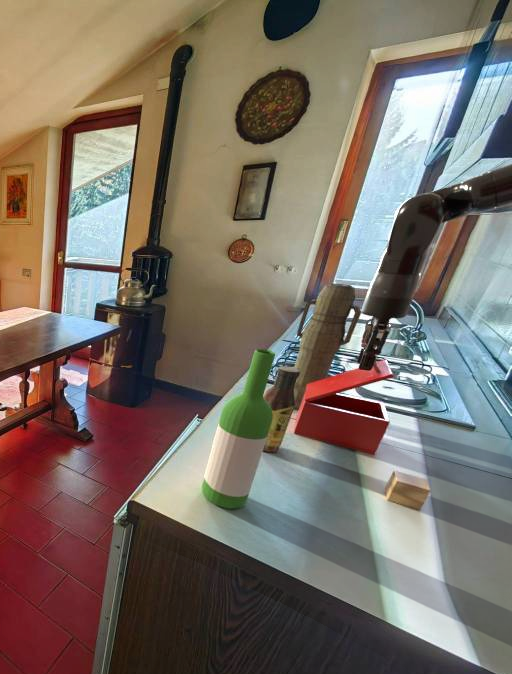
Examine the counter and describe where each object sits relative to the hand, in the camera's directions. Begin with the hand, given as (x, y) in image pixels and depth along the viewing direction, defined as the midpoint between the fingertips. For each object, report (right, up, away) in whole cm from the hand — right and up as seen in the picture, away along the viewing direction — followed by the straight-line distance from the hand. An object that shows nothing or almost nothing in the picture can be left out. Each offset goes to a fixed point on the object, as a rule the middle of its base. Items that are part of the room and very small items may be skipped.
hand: (363, 366), depth 92 cm
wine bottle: (-43, -27, -16) cm, 53 cm away
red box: (-1, -17, +8) cm, 19 cm away
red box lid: (-2, -4, +3) cm, 5 cm away
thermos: (+2, -11, +23) cm, 26 cm away
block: (-7, -27, -16) cm, 32 cm away
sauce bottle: (-23, -19, +2) cm, 30 cm away
